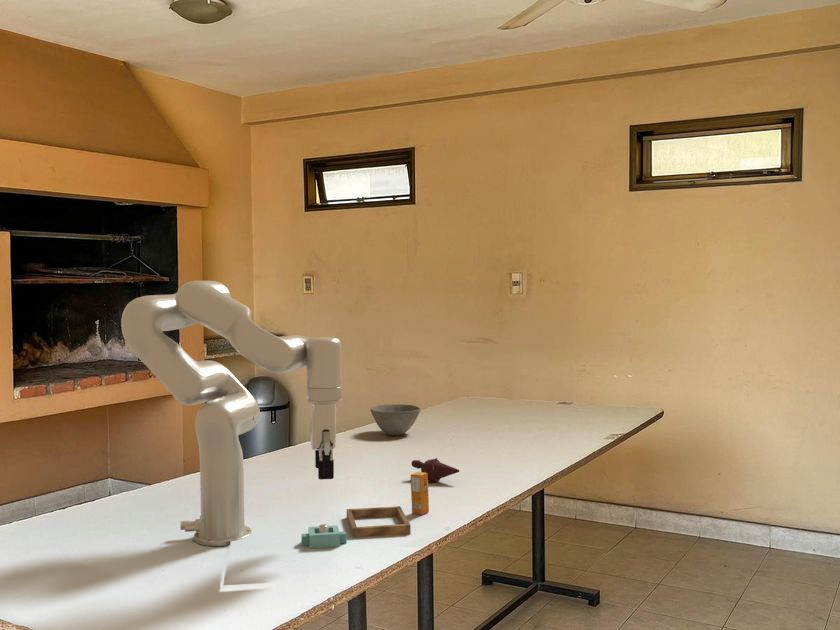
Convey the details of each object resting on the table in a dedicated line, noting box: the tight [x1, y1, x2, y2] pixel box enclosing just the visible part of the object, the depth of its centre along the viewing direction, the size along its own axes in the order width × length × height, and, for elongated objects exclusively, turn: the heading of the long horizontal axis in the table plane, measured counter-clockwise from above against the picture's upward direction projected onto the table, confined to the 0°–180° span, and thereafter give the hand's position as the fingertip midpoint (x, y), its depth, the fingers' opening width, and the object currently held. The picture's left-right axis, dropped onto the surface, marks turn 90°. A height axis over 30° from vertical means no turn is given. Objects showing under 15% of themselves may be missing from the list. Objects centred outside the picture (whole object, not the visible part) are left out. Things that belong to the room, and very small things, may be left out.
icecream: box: [410, 457, 460, 483], centre depth 229 cm, size 7×7×15 cm
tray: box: [346, 505, 412, 539], centre depth 186 cm, size 13×15×3 cm
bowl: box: [370, 403, 421, 436], centre depth 297 cm, size 19×19×10 cm
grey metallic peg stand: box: [318, 523, 329, 533], centre depth 173 cm, size 5×5×5 cm
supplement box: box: [410, 471, 430, 516], centre depth 198 cm, size 3×3×10 cm
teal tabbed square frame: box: [301, 525, 347, 549], centre depth 173 cm, size 10×6×3 cm, turn 100°
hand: (324, 473), depth 173 cm, fingers open, 9 cm apart
